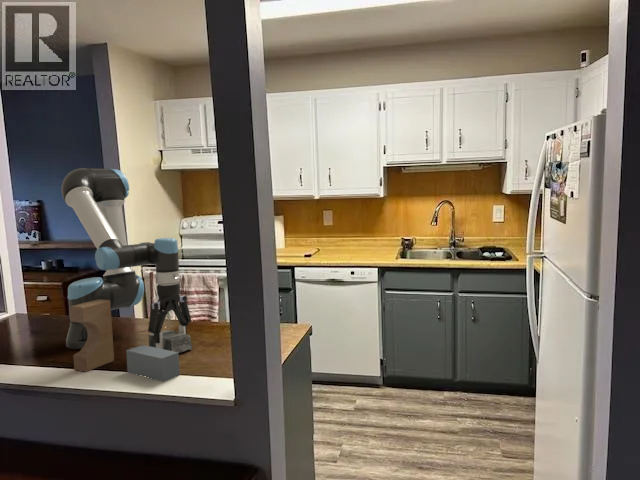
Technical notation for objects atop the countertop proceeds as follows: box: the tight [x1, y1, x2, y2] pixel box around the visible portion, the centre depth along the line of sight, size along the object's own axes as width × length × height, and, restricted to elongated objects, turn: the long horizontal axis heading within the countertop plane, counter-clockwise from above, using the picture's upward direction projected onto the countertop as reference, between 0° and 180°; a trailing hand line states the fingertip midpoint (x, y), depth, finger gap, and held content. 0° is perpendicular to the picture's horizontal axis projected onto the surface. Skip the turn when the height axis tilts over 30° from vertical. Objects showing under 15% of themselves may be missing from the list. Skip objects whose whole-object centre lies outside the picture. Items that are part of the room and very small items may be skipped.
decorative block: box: [69, 299, 115, 372], centre depth 153 cm, size 11×6×20 cm, turn 154°
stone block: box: [148, 330, 193, 354], centre depth 168 cm, size 9×14×5 cm, turn 49°
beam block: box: [125, 344, 181, 383], centre depth 145 cm, size 16×6×7 cm, turn 58°
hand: (171, 347), depth 169 cm, fingers closed on stone block, 9 cm apart
